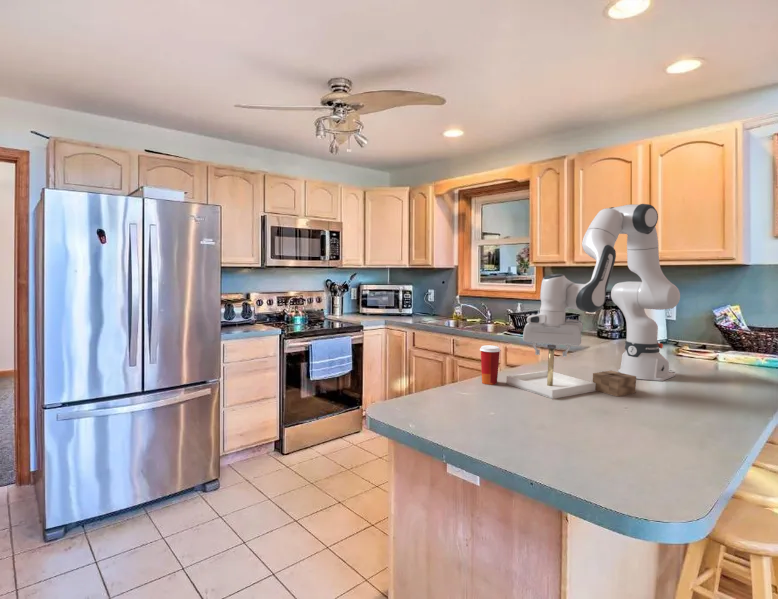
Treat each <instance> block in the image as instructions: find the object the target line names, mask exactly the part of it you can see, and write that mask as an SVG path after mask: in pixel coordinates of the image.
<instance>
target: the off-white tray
mask: <svg viewBox="0 0 778 599" xmlns="http://www.w3.org/2000/svg"><path fill="white" fill-rule="evenodd" d="M547 374H548V369H547V370H540V371H535V372H526V373H525V372H524V373H519V374H512V375H506V380H505V381H506V385H509V386H512V387H515V388H518V389H521V390H524V391H527V392H531V393H534V394H535V395H539V396H542V397H545V398H548V399H551V400H555V399H559V398H566V397H570V396H576V395H582V394H586V393H587V394H588V393H592V392H596V390H595V386H596V383H594V382H593V381H590V380H586V379H582V378H578V377H576V376H575V377H574V376H571V375H567V374H563V373H559V372H555V371H553V386H548V385H547Z"/></svg>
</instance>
